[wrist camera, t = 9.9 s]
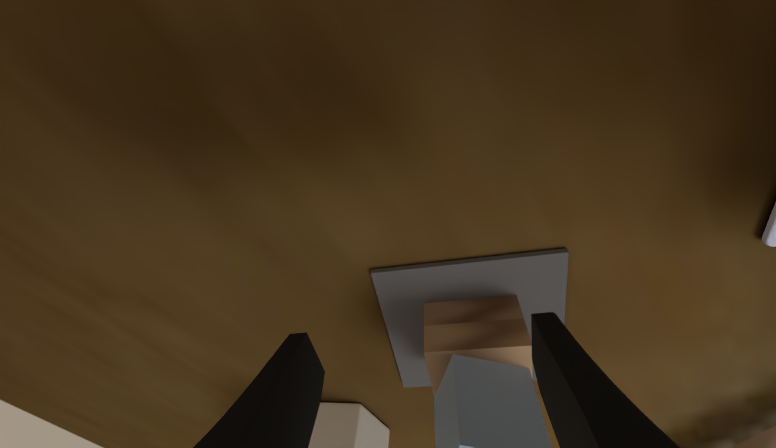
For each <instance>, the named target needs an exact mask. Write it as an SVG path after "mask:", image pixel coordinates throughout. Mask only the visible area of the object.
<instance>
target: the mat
mask: <svg viewBox="0 0 776 448" xmlns="http://www.w3.org/2000/svg"><path fill="white" fill-rule="evenodd" d="M568 256H569V252H568V250H567V248H564V249H555V250H546V251H536V252H527V253H518V254H509V255H500V256H491V257H481V258H472V259H463V260H454V261H445V262H436V263H426V264H417V265H408V266H399V267H390V268H380V269H371V277H372V280H373V283H374V287H375V290H376V294H377V297H378V301H379V304H380V307H381V311H382V314H383V318H384V321H385V324H386V328H387V331H388V335H389V338H390V342H391V345H392V348H393V352H394V355H395V359H396V362H397V365H398V369H399V372H400V376H401V379H402V383H403V386H404V387H424V386H431V382H430V377H429V373H428V369H427V364H426V360H425V356H424V303H432V302H444V301H455V300H466V299H477V298H488V297H499V296H511V295H517V298H518V301H519V304H520V307H521V310H522V314H523V317H524V320H525V323H526V326H527V330H528V333H529V336H530V339H531V342H532V332H531V314H534V313H546V312H554V313H555V314H557V316H558V317H559V319H560V320H561V321H562V323H563V324H564V319H565V304H566V288H567V272H568ZM532 380H533V381H537V378H536V374H535V370H534V366H533V362H532Z"/></svg>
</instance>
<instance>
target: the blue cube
mask: <svg viewBox="0 0 776 448" xmlns="http://www.w3.org/2000/svg"><path fill="white" fill-rule="evenodd" d="M434 415H435V448H552V447H551V443H550V439H549V436H548V432H547V429H546V425H545V422H544V418H543V415H542V411H541V408H540V404H539V401H538V397H537V394H536V390H535V387H534V383H533V380H532V376H531V373H530V369H529V368H526V367H520V366H515V365H510V364H504V363H499V362H494V361H488V360H483V359H477V358H472V357H467V356H461V355H456V354H453V355H452V357H451V359H450V362H449V364H448V367H447V369H446V371H445V374H444V376H443V379H442V381H441V383H440V386H439V388H438V390H437V393H436V395H435V398H434Z"/></svg>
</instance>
